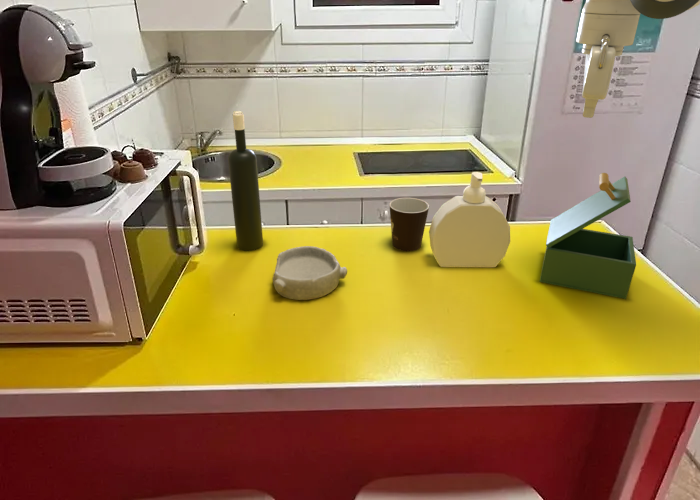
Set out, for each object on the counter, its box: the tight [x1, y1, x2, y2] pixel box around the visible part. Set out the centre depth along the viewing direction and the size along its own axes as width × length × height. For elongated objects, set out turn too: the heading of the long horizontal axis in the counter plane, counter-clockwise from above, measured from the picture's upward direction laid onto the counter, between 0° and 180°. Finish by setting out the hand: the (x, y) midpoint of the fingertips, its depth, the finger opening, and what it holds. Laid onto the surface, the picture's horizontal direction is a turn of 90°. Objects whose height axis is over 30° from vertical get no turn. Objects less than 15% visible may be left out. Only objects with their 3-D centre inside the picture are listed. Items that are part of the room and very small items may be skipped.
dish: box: [272, 245, 348, 301], centre depth 101 cm, size 14×14×5 cm
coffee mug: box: [388, 197, 430, 252], centre depth 116 cm, size 12×9×10 cm
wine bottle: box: [227, 110, 264, 252], centre depth 109 cm, size 6×6×30 cm
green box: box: [539, 228, 637, 300], centre depth 104 cm, size 16×13×8 cm
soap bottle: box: [428, 171, 511, 268], centre depth 106 cm, size 16×5×20 cm, turn 90°
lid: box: [545, 172, 631, 248], centre depth 100 cm, size 16×13×5 cm
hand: (587, 115), depth 93 cm, fingers closed
